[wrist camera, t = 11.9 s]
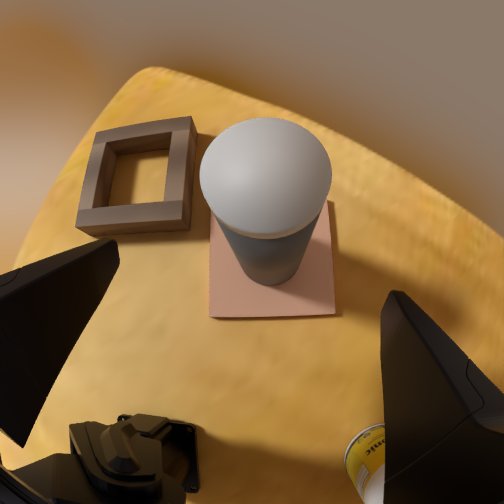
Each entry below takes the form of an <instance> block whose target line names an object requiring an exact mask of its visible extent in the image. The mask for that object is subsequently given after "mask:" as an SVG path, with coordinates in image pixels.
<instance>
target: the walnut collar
mask: <svg viewBox="0 0 504 504" xmlns="http://www.w3.org/2000/svg"><path fill="white" fill-rule="evenodd" d="M196 142H197V130H196V127H195V125H194V122H193V119H192V117H191V116H187V117H179V118H172V119H165V120H158V121H152V122H146V123H140V124H134V125H129V126H124V127H119V128H114V129H109V130H104V131H100V132H96V135H95V139H94V142H93V146H92V149H91V153H90V157H89V161H88V165H87V169H86V174H85V178H84V182H83V187H82V192H81V197H80V202H79V207H78V213H77V219H76V225H75V227H76V228H78V229H79V230H81V231H83V232H84V233H86V234H88V235H90V236H96V235H112V234H128V233H146V232H165V231H185V230H190V224H191V206H192V191H193V177H194V165H195V153H196ZM162 149H170V152H169V159H168V167H167V175H166V184H165V193H164V202H151V203H140V204H129V205H119V206H109V207H108V202H109V196H110V190H111V184H112V179H113V174H114V169H115V164H116V159H117V156H120V155H126V154H133V153H140V152H147V151H154V150H162Z"/></svg>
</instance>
